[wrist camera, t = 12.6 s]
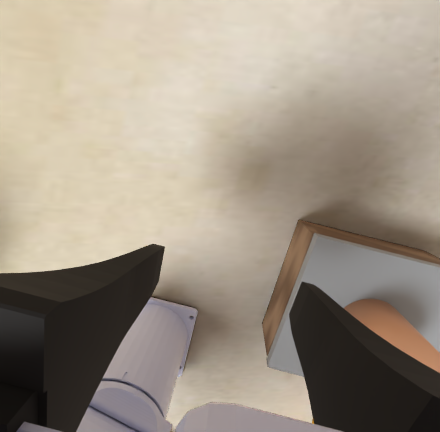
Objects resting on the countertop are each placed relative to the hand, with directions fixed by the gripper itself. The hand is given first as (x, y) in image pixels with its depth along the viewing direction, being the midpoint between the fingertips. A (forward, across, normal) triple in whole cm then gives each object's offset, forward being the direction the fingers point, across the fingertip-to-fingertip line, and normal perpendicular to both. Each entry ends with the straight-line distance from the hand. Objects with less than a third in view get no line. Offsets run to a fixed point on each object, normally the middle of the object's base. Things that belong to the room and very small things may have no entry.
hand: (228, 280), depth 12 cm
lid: (+6, -12, +4) cm, 14 cm away
